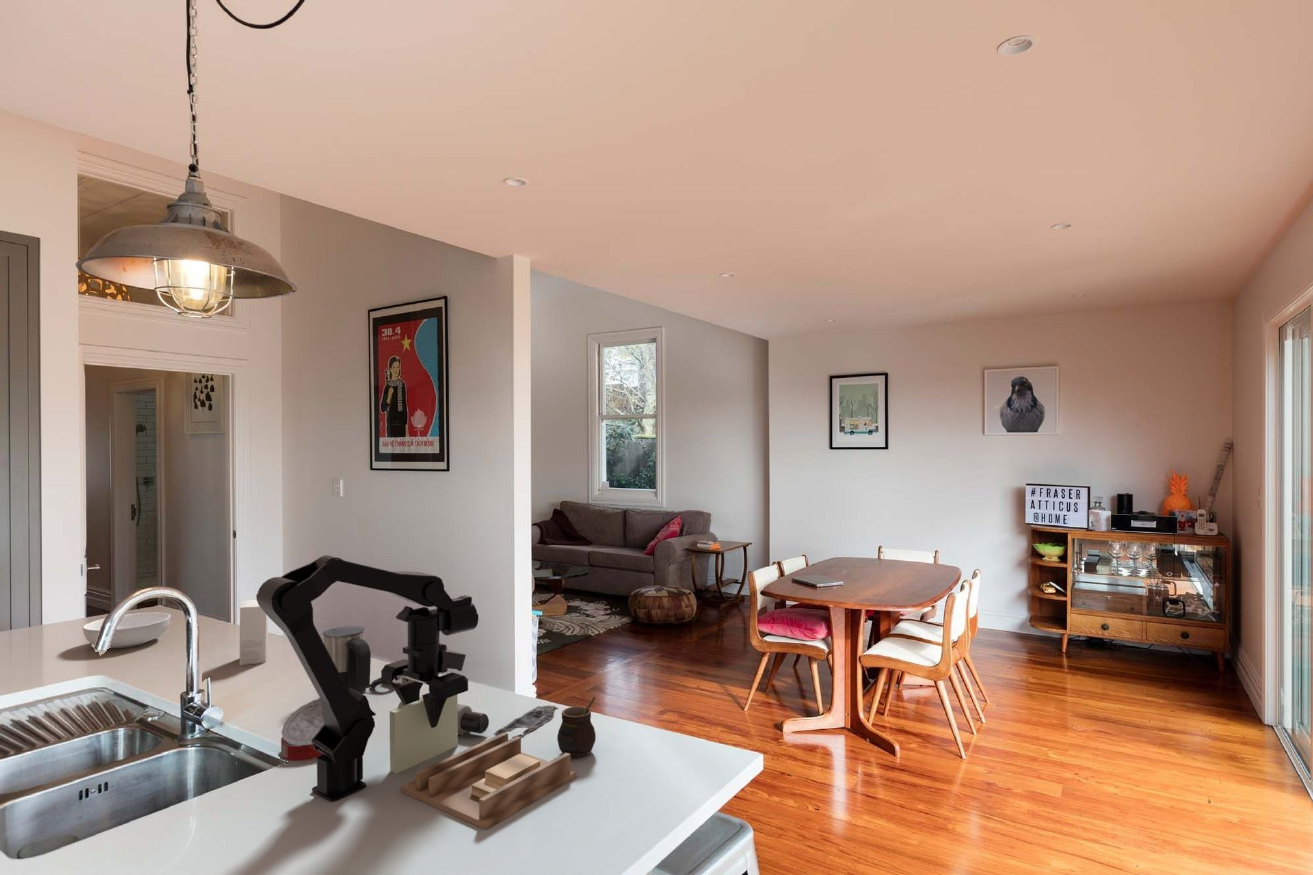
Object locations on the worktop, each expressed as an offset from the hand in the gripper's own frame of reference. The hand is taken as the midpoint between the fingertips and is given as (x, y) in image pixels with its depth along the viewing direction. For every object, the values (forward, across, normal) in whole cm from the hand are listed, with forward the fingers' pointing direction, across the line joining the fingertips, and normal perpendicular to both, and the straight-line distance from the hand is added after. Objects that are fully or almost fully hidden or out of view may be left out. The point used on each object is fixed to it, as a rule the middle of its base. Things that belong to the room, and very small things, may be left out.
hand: (424, 723), depth 138 cm
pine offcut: (+6, -22, 0) cm, 23 cm away
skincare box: (+7, +88, -12) cm, 89 cm away
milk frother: (+7, +43, -15) cm, 46 cm away
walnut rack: (+6, -18, 0) cm, 19 cm away
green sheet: (+7, 0, 0) cm, 7 cm away
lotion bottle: (+4, +18, -9) cm, 20 cm away
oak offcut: (+4, -22, -1) cm, 23 cm away
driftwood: (+7, -4, -22) cm, 24 cm away
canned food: (+7, +22, +10) cm, 25 cm away
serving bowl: (+7, +135, +1) cm, 135 cm away
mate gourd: (+7, -22, -18) cm, 29 cm away
